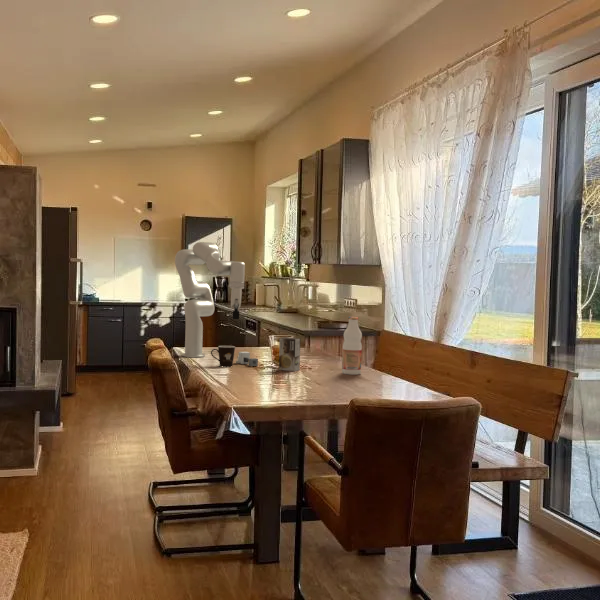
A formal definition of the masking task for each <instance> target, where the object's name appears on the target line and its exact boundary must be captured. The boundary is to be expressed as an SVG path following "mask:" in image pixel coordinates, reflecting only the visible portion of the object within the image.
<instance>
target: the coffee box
mask: <svg viewBox="0 0 600 600" xmlns="http://www.w3.org/2000/svg"><path fill="white" fill-rule="evenodd" d="M278 341H279V342H278V343H279V345H278V346H279V348H278V349H279V350H278V352H279V353H278V355H279V356H278V370H279V371H287V372H288V371H289V372H297V371H300V368H301V367H300V366H301V365H300V363H301V361H300V360H301V337H299V338H298V337H288V336H287V337H286V336H283V337H280V338H279V340H278Z"/></svg>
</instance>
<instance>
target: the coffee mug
mask: <svg viewBox="0 0 600 600" xmlns="http://www.w3.org/2000/svg"><path fill="white" fill-rule="evenodd" d="M235 350H236V346H234V345H218V349H216V348H213V349H212V350H211V351H210V354H211V356H212V358H214V359H216V360H217V361H218V362H219V367H221V366H223V367H222V368H231V366H232V367H233V365H234V358H235V353H236V352H235ZM213 351H217V353H218V358H217V357H216V356H215V355H213Z"/></svg>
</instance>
